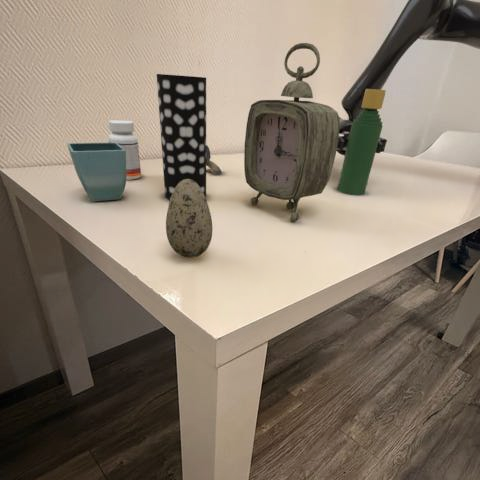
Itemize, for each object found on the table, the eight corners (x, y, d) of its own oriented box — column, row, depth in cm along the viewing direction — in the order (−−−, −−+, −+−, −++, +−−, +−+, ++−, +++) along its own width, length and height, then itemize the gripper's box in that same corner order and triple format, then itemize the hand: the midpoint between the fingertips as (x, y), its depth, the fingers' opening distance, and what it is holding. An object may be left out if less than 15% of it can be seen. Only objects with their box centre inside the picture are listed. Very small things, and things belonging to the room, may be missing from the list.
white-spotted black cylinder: (214, 196, 69) (215, 78, 58) (189, 205, 63) (185, 75, 52) (182, 189, 72) (178, 75, 61) (156, 197, 66) (145, 73, 55)
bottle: (347, 186, 83) (369, 91, 72) (369, 192, 80) (397, 93, 68) (332, 189, 80) (353, 90, 68) (354, 196, 76) (381, 92, 65)
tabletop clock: (241, 204, 66) (250, 41, 51) (273, 198, 71) (290, 47, 56) (295, 227, 57) (325, 37, 43) (327, 218, 62) (364, 46, 48)
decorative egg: (191, 244, 49) (189, 171, 43) (221, 257, 46) (223, 180, 40) (159, 255, 45) (151, 177, 39) (188, 270, 42) (185, 188, 36)
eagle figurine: (179, 166, 85) (207, 165, 80) (185, 139, 85) (213, 136, 80) (198, 180, 92) (224, 179, 87) (203, 154, 91) (230, 152, 87)
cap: (367, 107, 72) (372, 89, 70) (385, 109, 70) (390, 90, 68) (357, 107, 70) (361, 88, 68) (374, 109, 68) (379, 89, 66)
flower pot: (77, 193, 66) (66, 142, 60) (123, 190, 69) (116, 141, 64) (83, 206, 59) (71, 151, 54) (133, 202, 63) (126, 149, 58)
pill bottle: (115, 174, 80) (106, 119, 73) (141, 174, 81) (135, 120, 75) (113, 180, 75) (104, 122, 68) (141, 180, 76) (135, 123, 70)
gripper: (321, 118, 85) (333, 125, 72) (376, 122, 85) (398, 130, 72) (315, 150, 90) (326, 162, 76) (367, 154, 90) (387, 167, 77)
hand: (361, 146), depth 74 cm, fingers open, 8 cm apart
